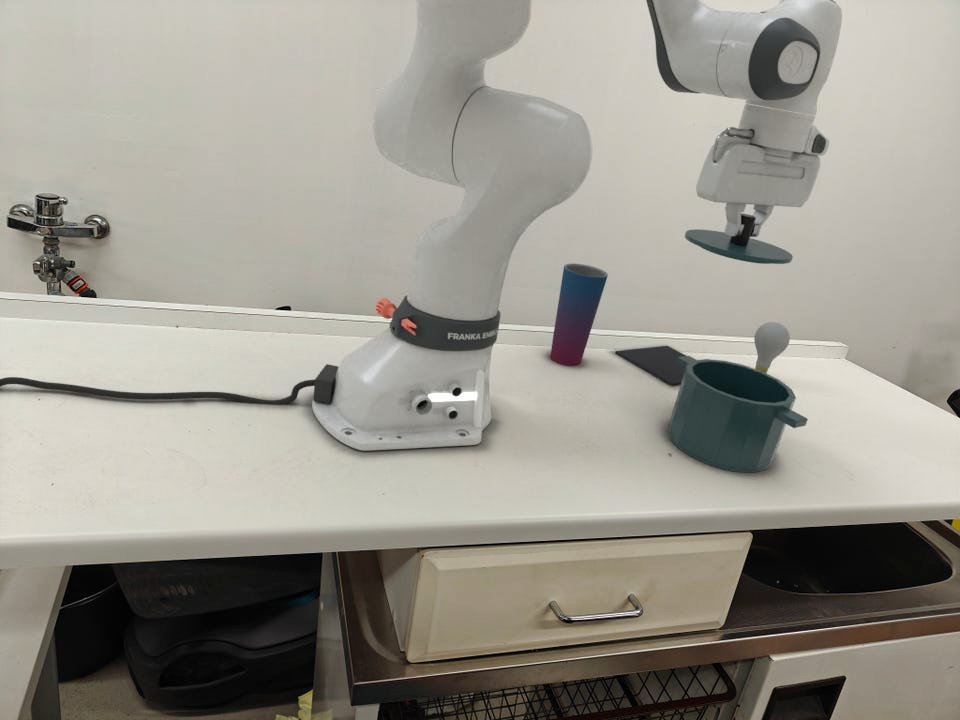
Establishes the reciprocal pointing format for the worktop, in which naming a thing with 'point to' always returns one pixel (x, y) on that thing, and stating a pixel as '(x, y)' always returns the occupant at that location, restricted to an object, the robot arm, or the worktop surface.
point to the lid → (739, 244)
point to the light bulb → (770, 344)
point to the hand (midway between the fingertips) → (740, 235)
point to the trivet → (657, 362)
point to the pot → (731, 414)
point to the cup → (576, 311)
